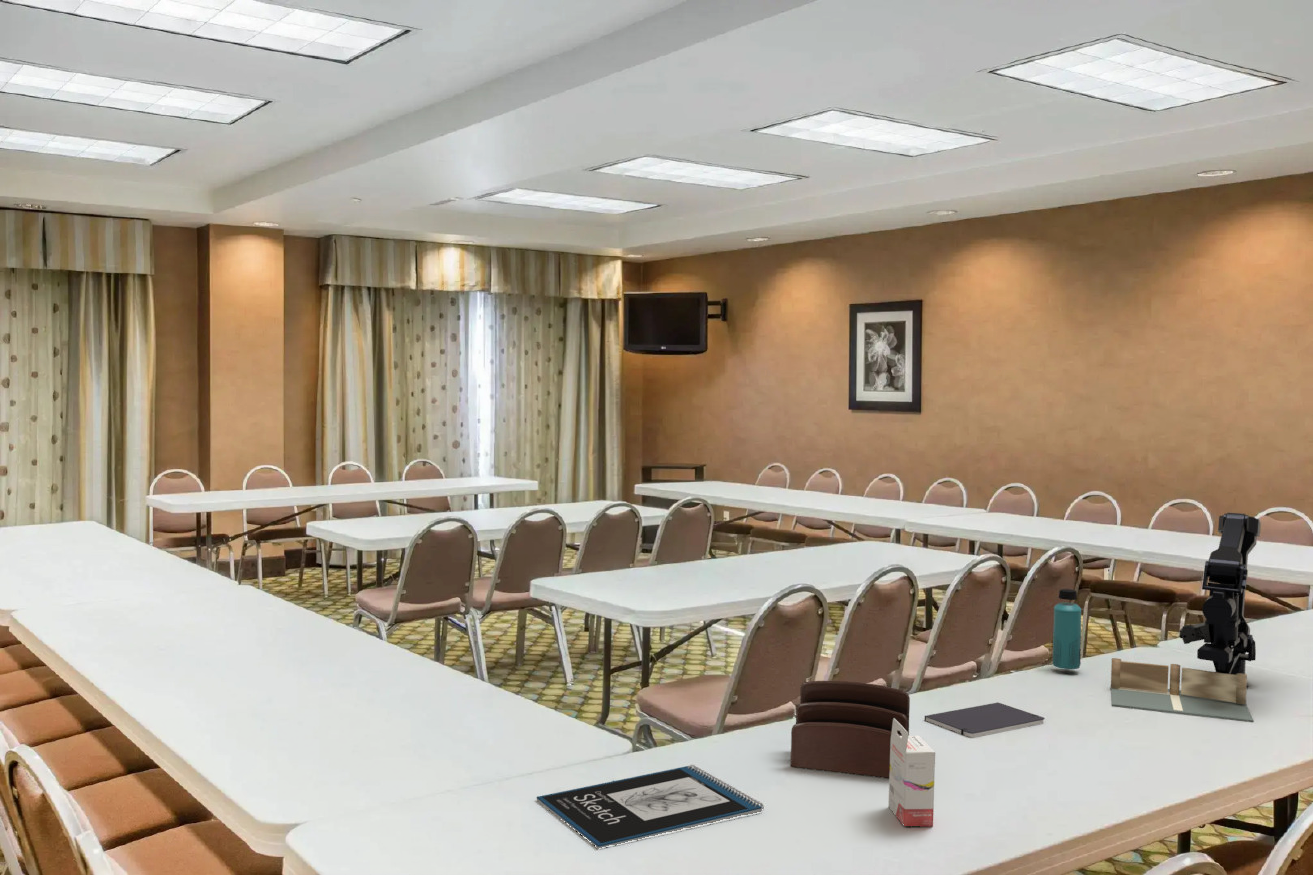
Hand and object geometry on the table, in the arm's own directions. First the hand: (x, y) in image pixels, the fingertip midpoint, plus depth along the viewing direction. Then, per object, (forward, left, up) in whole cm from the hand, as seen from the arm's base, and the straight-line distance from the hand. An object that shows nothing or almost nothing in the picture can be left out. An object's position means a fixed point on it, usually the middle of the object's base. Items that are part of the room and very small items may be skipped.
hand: (1221, 684), depth 243 cm
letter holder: (+75, -66, -4) cm, 100 cm away
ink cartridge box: (+95, -52, -4) cm, 109 cm away
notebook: (+38, -46, -5) cm, 60 cm away
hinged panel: (+2, -2, -3) cm, 4 cm away
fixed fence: (0, -15, -4) cm, 16 cm away
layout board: (+5, -9, -4) cm, 11 cm away
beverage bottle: (-12, -32, -4) cm, 35 cm away
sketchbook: (+108, -91, -4) cm, 142 cm away
